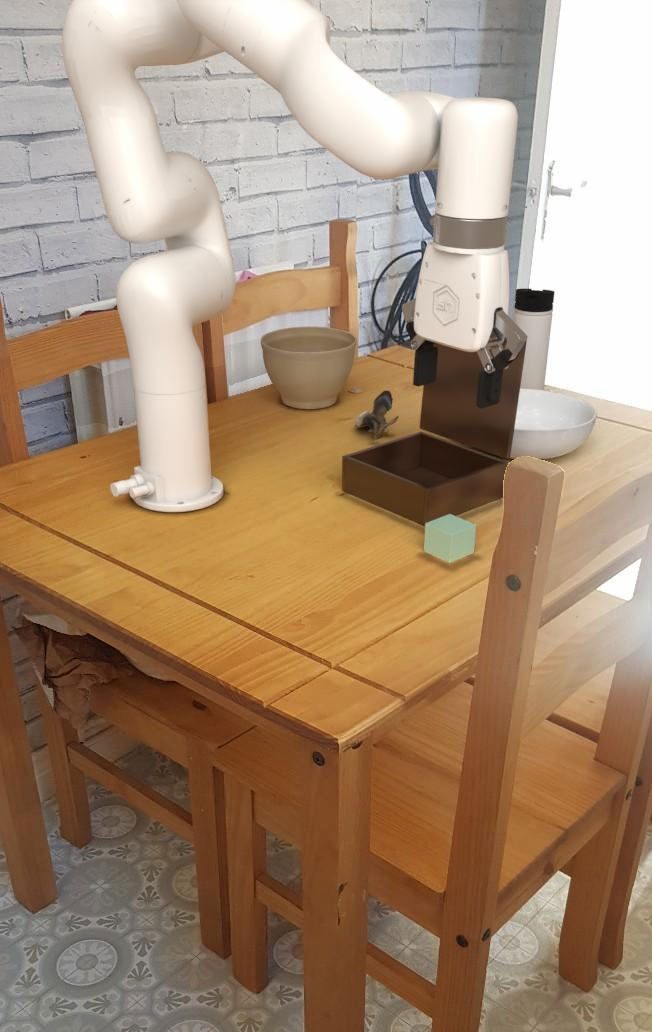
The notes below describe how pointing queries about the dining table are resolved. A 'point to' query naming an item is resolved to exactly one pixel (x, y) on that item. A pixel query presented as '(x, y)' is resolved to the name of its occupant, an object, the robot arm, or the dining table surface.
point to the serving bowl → (550, 424)
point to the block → (449, 538)
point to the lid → (471, 402)
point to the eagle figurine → (378, 415)
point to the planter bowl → (308, 364)
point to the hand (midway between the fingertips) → (455, 394)
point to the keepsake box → (423, 477)
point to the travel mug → (534, 333)
